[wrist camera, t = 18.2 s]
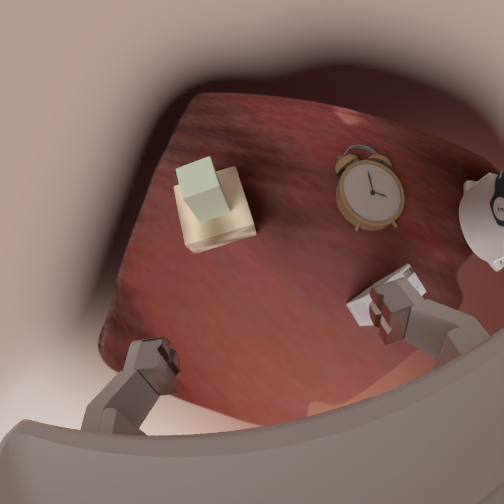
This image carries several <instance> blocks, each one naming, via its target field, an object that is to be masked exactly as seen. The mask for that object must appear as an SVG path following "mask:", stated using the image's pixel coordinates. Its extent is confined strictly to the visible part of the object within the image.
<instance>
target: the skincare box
mask: <svg viewBox="0 0 504 504" xmlns="http://www.w3.org/2000/svg"><path fill="white" fill-rule="evenodd" d="M402 277H405V278H406V279H407V280H408V281H409V282H410V283H411V284H412V285H413V287H414V288H415V289H416V290H417V291H418V292H419V293H420V295H421V296H422V295H423V294H424V293H425V292H426V290H425V288H424V287H423V285H422V283H421V282H420V280H419V279H418V277H417V275H416V274H415V272H414V271H413V269H412V267H411V266H410V264H406V265H405V266H403V267H401V268H399V269H398V270H396V271H394V272H393V273H391V274H389V275H388V276H386V277H384V278H382V279H381V280H379V281H377V282H376V283H374V284H373V285H371V286H370V287H369V288H367V289H366V290H364V291H363V292H362V293H360V294H359V295H358V296H356V297H355V298H354V299H352V300H351V301H349V302H348V303H347V304H346V305H347V307H348V308H349V310H350V312H351V313H352V315H353V316H354V318H355V319H356V321H357V323H358V324H359V326H367V325H374V324H373V323H372V320H371V318H370V313H369V304H370V302H371V301H372V299H371V297H370V290H371V288H372V287H375V286H378V285H381V284H384V283H387V282H390V281H393V280H396V279H399V278H402Z"/></svg>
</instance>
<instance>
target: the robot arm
mask: <svg viewBox="0 0 504 504" xmlns="http://www.w3.org/2000/svg"><path fill="white" fill-rule="evenodd" d="M463 190H464V194H463V197H462V199H461V202H460V205H459V221H460V226H461V229H462V232H463V235H464V237H465V240H466V241H467V243H468V245H469V247H470V248H471V249H472V251H473V252H474V253H475V254H476V255H477V256H478V257H480V258H481V259H483V260H485V261H487V262H488V263H489V264H490V265H491V267H492V268H493V269H494V270H495V271H499V270H501V269H502V268H503V267H504V169H503V170H502V171H501V173H500V174H499V175H497V174H495V173H493V174H491V173H488V174H487V175H485V176H484V177H483V178H481V179H480V180H479V181H469V180H468V181H466V182H465V183H464V187H463ZM370 297H371V299H372V301H371V302H370V304H369V313H370V318H371V320H372V323H373V324H374V326H375V327H377V328H380V330H379V335H380V337H381V338H382V340H383V342H384V343H385V345H389V344H391V343H394V342H397V341H400V340H402V339H404V340H405V341H407V342H408V343H410V344H411V345H413V346H415V347H416V348H418V349H420V350H421V351H423V352H424V353H426V354H428V355H429V356H431V357H433V358H434V359H436V360H437V361H436V363H435V365H434V368H433V370H432V371H430V372H428V373H427V374H424V375H422V376H420V377H418V378H416V379H414V380H412V381H409V382H407V383H405V384H403V385H400V386H398V387H396V388H393V389H391V390H388V391H386V392H383V393H381V394H378V395H376V396H373V397H370V398H368V399H365V400H362V401H359V402H356V403H353V404H350V405H347V406H344V407H340V408H337V409H334V410H331V411H327V412H324V413H320V414H316V415H312V416H309V417H304V418H300V419H296V420H292V421H287V422H283V423H278V424H273V425H267V426H262V427H256V428H250V429H243V430H236V431H227V432H219V433H208V434H194V435H170V436H147V435H146V434H145V433H144V432H142V431H141V430H139V427H140V426H141V424H142V422H143V421H144V420H145V418H146V417H147V415H148V413H149V412H150V410H151V409H152V407H153V406H154V404H155V403H156V401H157V400H158V398H159V396H160V395H170V394H178V386H179V380H178V378H177V377H176V376H177V375H178V373H179V372H180V359H179V356H178V354H177V352H176V351H175V350H174V349H172V348H170V344H171V343H170V341H169V340H168V338H167V337H160V338H152V339H144V340H138V341H133V342H132V343H131V345H130V348H129V351H128V355H127V358H126V362H125V365H124V369H123V371H120V372H119V373H118V374H117V375H116V376H115V377H114V378H113V379H112V380H111V381H110V383H108V385H107V386H106V387H105V388H104V389H103V390H102V391H101V392H100V393H99V394H98V395H97V396H96V397H95V398H94V399H93V400H92V401H91V403H90V404H89V405H88V406H87V408H86V412H85V415H84V419H83V423H82V427H81V430H76V429H69V428H63V427H58V426H53V425H48V424H44V423H39V422H35V421H31V420H22V421H21V422H19V423H18V424H17V425H16V426H15V427H13V429H11V431H9V432H8V433H7V434H6V436H5V437H4V438H3V440H2V441H1V443H0V504H504V327H503V328H502V329H501V330H499V331H498V332H496V333H495V334H494V335H492V336H491V337H490V336H489V334H488V333H487V332H486V331H485V329H484V328H483V327H482V326H481V325H480V324H479V322H478V321H477V320H476V319H475V317H473V316H470V315H468V314H465V313H462V312H460V311H457V310H455V309H452V308H450V307H447V306H444V305H442V304H439V303H437V302H434V301H431V300H429V299H428V300H425V299H424V298H423V297H422V296H421V295H420V293H419V292H418V291H417V290H416V289H415V288H414V287H413V285H412V284H411V283H410V282H409V281H408V280H407V279H406V278H405V277H402V278H399V279H396V280H393V281H390V282H387V283H384V284H381V285H378V286H375V287H372V288H371V290H370Z"/></svg>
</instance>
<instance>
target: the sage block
mask: <svg viewBox="0 0 504 504" xmlns="http://www.w3.org/2000/svg"><path fill="white" fill-rule="evenodd" d="M176 173H177V177H178V182H179V186H180V190H181V194H182V198H183V200H184V202H185V203H186V204H187V206H188V207H189V208H190V210H191V211H192V212H193V214H194V215H195V216H196V218H197V219H198V220H199V222H200V223H202V222H205V221H208V220H210V219H213V218H216V217H219V216H221V215H224V214H227V213H230V209H229V206H228V203H227V200H226V197H225V194H224V191H223V188H222V185H221V183H220V180H219V178H218V175H217V173H216V170H215V168H214V165H213V163H212V160H211V158H210V156H209V157H206V158H203V159H201V160H198V161H195V162H193V163H190V164H187V165H185V166H182V167H180V168H177V169H176Z"/></svg>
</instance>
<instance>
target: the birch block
mask: <svg viewBox="0 0 504 504" xmlns="http://www.w3.org/2000/svg"><path fill="white" fill-rule="evenodd" d="M216 173H217V175H218V178H219V180H220V183H221V185H222V188H223V191H224V194H225V197H226V200H227V203H228V206H229V209H230V213H227V214H224V215H221V216H219V217H216V218H213V219H210V220H208V221H205V222H202V223H200V222H199V220H198V219H197V218H196V216H195V215H194V214H193V212H192V211H191V210H190V208H189V207H188V206H187V204H186V203H185V202H184V200H183V198H182V194H181V190H180V186H179V185H176V186H174V191H175V197H176V202H177V207H178V212H179V217H180V222H181V227H182V232H183V237H184V241H185V246H187V247H188V248H189V249H190V250H191V251H192V252H193V253H195V254H196V253H199V252H202V251H205V250H209V249H212V248H215V247H218V246H221V245H225V244H228V243H231V242H234V241H237V240H241V239H244V238H247V237H250V236H254V235H257V234H256V230H255V226H254V222H253V219H252V216H251V213H250V210H249V207H248V203H247V200H246V197H245V194H244V191H243V188H242V185H241V182H240V179H239V176H238V172H237V169H236V166H233V167H230V168H226V169H223V170H220V171H217V172H216Z"/></svg>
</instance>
